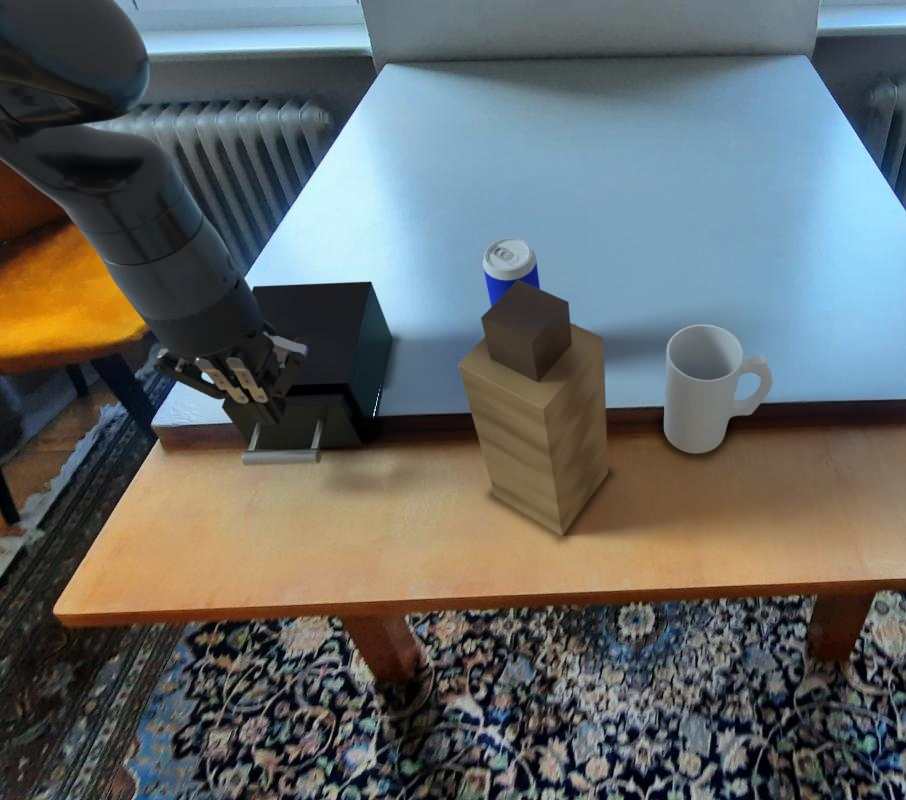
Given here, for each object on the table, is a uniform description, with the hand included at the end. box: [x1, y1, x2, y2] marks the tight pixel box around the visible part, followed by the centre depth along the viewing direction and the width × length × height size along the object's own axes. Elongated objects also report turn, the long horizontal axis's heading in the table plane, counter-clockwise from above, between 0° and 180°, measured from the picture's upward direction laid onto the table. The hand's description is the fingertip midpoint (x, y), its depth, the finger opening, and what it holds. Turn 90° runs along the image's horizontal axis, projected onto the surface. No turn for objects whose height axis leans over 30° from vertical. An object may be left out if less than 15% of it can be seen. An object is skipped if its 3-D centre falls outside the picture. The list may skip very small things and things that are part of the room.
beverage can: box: [482, 237, 541, 308], centre depth 76 cm, size 5×5×15 cm
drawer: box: [221, 388, 366, 467], centre depth 74 cm, size 17×11×7 cm, turn 0°
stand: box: [457, 322, 609, 536], centre depth 64 cm, size 8×8×20 cm
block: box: [480, 280, 572, 382], centre depth 54 cm, size 4×4×4 cm
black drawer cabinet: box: [223, 281, 394, 438], centre depth 77 cm, size 14×13×9 cm
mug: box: [663, 323, 773, 454], centre depth 70 cm, size 10×7×12 cm, turn 89°
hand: (273, 416), depth 67 cm, fingers closed
